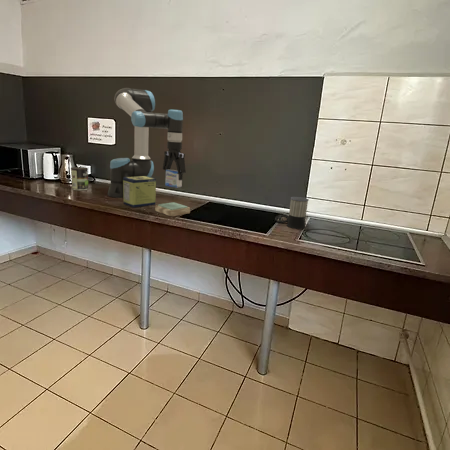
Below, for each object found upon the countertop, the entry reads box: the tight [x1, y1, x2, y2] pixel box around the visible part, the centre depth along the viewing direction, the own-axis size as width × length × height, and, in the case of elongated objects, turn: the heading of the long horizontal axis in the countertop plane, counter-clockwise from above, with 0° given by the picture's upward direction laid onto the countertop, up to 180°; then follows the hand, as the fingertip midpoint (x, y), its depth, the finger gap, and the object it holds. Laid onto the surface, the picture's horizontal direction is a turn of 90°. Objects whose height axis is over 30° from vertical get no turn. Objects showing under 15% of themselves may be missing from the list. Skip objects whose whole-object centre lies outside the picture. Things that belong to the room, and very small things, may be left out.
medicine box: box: [164, 168, 182, 189], centre depth 176 cm, size 8×4×9 cm, turn 62°
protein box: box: [123, 176, 157, 208], centre depth 191 cm, size 10×16×16 cm
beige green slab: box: [154, 204, 191, 217], centre depth 181 cm, size 14×13×3 cm
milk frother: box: [274, 196, 310, 230], centre depth 172 cm, size 14×16×15 cm
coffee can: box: [70, 166, 90, 191], centre depth 220 cm, size 10×10×14 cm
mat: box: [157, 201, 189, 210], centre depth 181 cm, size 12×11×1 cm
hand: (173, 184), depth 177 cm, fingers closed on medicine box, 9 cm apart
